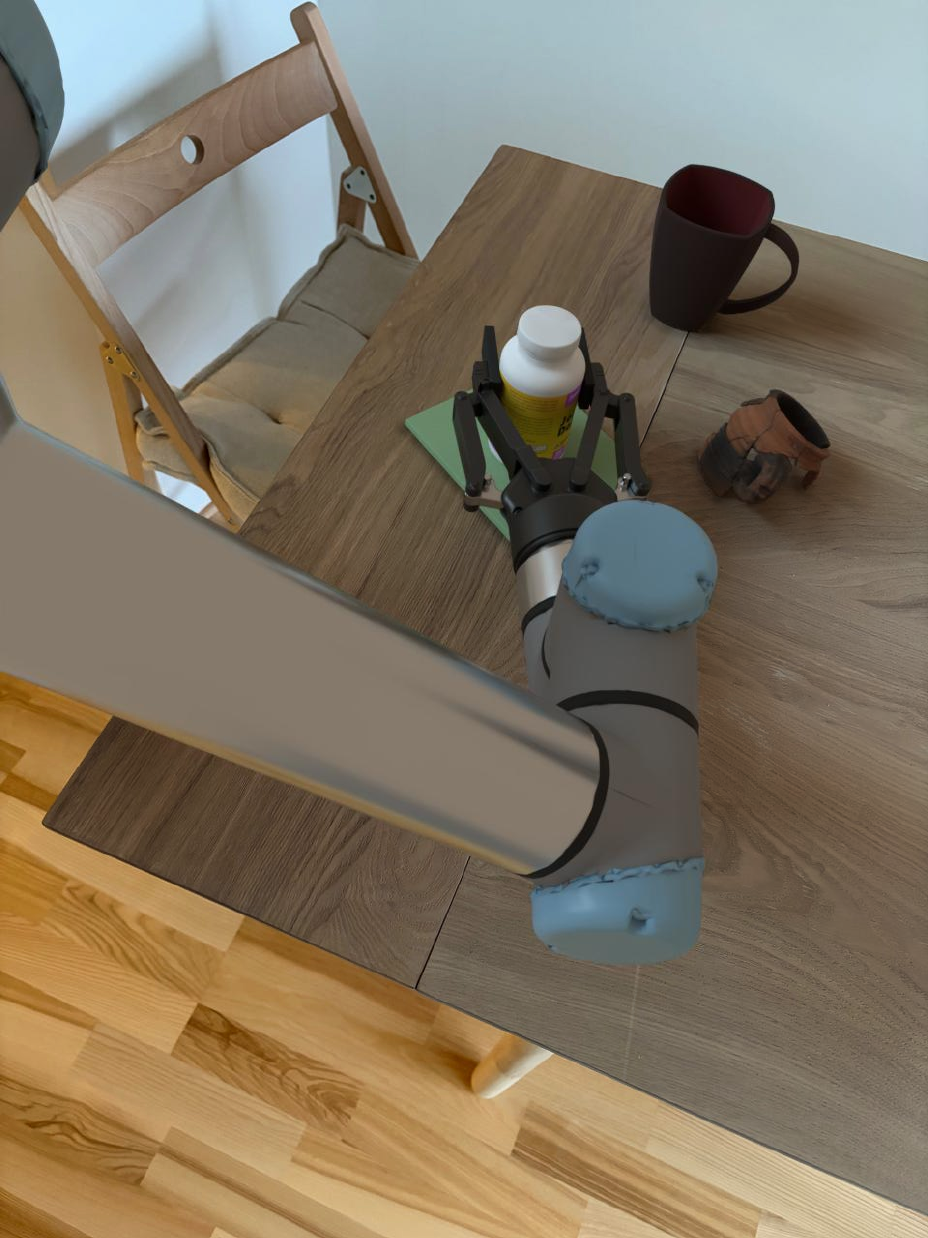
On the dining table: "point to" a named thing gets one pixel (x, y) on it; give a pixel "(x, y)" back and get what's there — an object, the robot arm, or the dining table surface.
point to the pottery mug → (763, 448)
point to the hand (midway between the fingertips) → (531, 339)
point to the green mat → (442, 444)
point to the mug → (710, 245)
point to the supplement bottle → (542, 378)
